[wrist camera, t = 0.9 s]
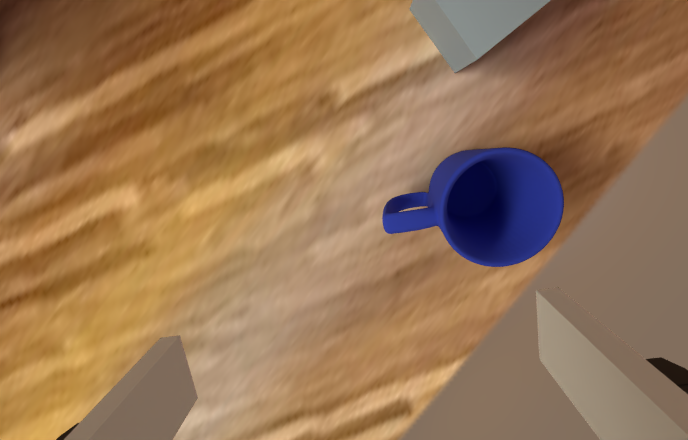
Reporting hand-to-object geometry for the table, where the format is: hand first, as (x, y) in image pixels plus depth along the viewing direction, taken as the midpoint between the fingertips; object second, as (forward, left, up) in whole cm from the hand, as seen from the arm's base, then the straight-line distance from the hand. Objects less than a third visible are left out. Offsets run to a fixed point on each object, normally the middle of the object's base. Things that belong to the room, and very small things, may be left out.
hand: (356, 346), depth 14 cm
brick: (-8, +17, -23) cm, 30 cm away
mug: (+3, +7, -24) cm, 25 cm away
